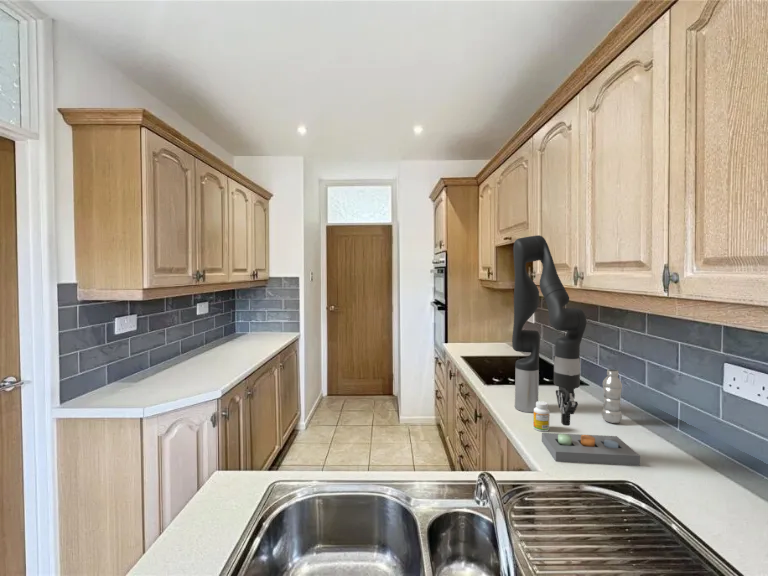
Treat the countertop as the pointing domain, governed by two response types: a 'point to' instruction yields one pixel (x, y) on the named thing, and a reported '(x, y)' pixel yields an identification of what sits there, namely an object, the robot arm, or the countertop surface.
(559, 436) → the green button
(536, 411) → the supplement bottle
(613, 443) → the blue button
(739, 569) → the countertop surface
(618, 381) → the plastic bottle
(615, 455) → the button box
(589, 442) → the orange button
